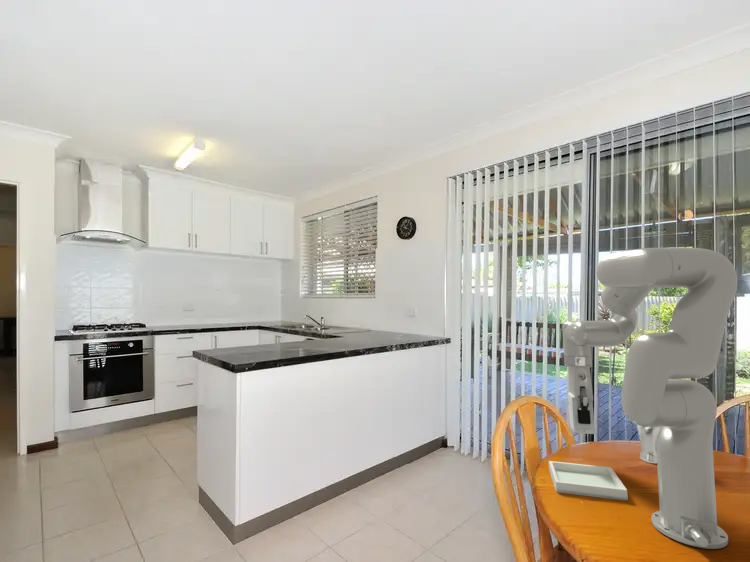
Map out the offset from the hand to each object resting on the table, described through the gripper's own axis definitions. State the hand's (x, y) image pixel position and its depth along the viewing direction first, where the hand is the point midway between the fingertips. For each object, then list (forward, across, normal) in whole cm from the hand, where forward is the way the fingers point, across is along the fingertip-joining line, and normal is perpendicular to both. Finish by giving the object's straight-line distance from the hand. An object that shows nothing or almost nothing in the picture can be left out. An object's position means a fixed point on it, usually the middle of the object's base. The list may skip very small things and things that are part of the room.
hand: (581, 419), depth 118 cm
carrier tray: (+13, -14, +2) cm, 19 cm away
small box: (+3, 0, 0) cm, 3 cm away
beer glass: (+13, +9, -21) cm, 26 cm away
